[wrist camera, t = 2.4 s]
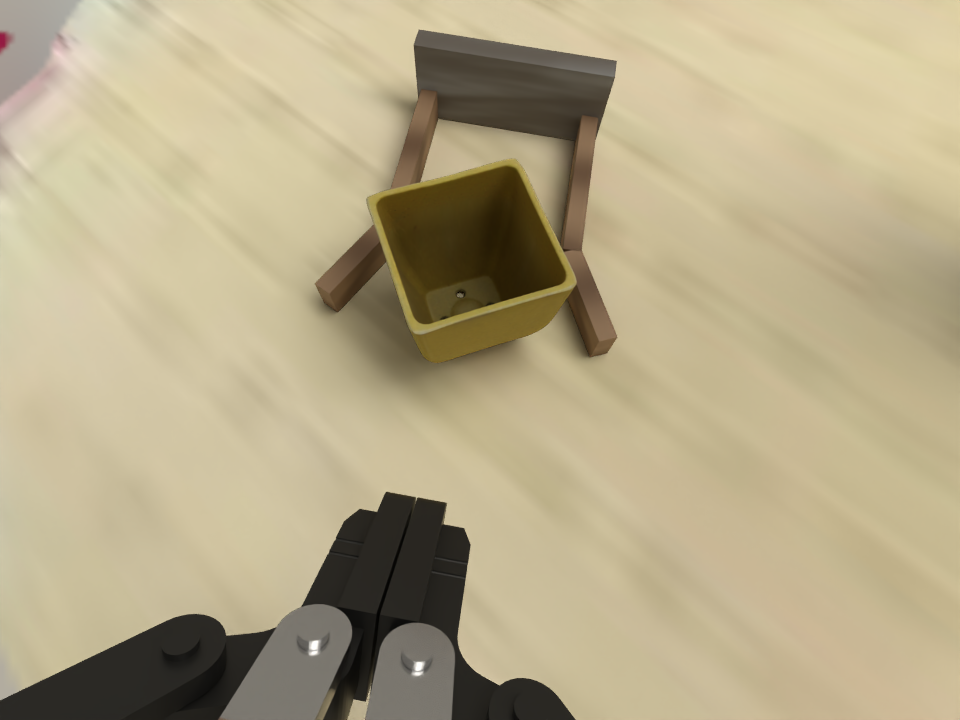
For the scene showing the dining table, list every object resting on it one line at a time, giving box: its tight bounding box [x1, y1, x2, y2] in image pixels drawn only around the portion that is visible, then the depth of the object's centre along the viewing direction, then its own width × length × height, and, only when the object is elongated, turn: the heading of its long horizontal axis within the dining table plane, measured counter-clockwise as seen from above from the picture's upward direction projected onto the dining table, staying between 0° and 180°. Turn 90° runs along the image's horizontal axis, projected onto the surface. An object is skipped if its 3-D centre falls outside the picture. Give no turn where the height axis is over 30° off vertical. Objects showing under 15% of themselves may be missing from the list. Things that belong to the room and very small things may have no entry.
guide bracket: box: [315, 30, 617, 357], centre depth 36 cm, size 20×19×6 cm
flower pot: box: [367, 159, 577, 363], centre depth 32 cm, size 9×9×9 cm
